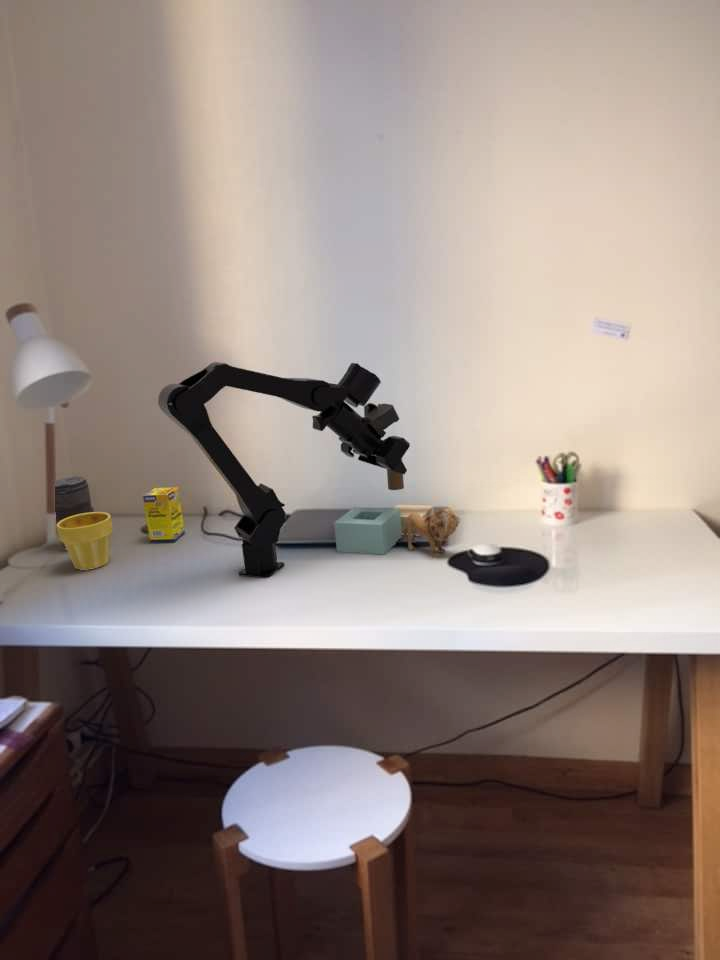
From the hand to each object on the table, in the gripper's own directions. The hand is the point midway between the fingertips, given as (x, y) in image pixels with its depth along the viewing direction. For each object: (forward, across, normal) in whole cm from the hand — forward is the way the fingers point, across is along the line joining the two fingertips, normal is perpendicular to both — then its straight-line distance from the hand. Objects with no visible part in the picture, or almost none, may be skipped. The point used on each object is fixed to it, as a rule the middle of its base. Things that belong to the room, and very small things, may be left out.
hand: (400, 470), depth 150 cm
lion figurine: (+8, -12, +11) cm, 18 cm away
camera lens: (-31, +43, +51) cm, 74 cm away
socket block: (+3, -2, +16) cm, 16 cm away
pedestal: (+10, 0, +8) cm, 13 cm away
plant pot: (-31, +28, +51) cm, 66 cm away
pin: (+1, 0, +3) cm, 4 cm away
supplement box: (-19, +34, +39) cm, 55 cm away
